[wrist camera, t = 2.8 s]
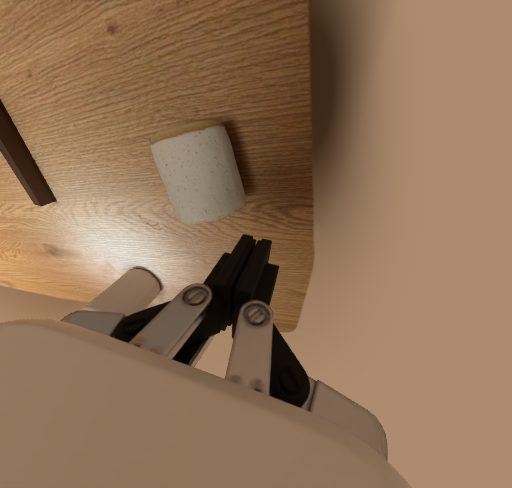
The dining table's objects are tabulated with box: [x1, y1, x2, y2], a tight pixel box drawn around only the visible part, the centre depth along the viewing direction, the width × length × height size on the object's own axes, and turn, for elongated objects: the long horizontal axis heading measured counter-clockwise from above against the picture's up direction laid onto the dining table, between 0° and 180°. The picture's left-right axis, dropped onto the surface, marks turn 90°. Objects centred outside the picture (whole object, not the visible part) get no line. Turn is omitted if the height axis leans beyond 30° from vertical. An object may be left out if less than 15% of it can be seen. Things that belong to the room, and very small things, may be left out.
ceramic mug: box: [150, 120, 246, 224], centre depth 20 cm, size 11×8×8 cm
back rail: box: [0, 100, 56, 206], centre depth 28 cm, size 3×20×2 cm, turn 175°
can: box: [82, 269, 160, 316], centre depth 36 cm, size 8×8×12 cm
